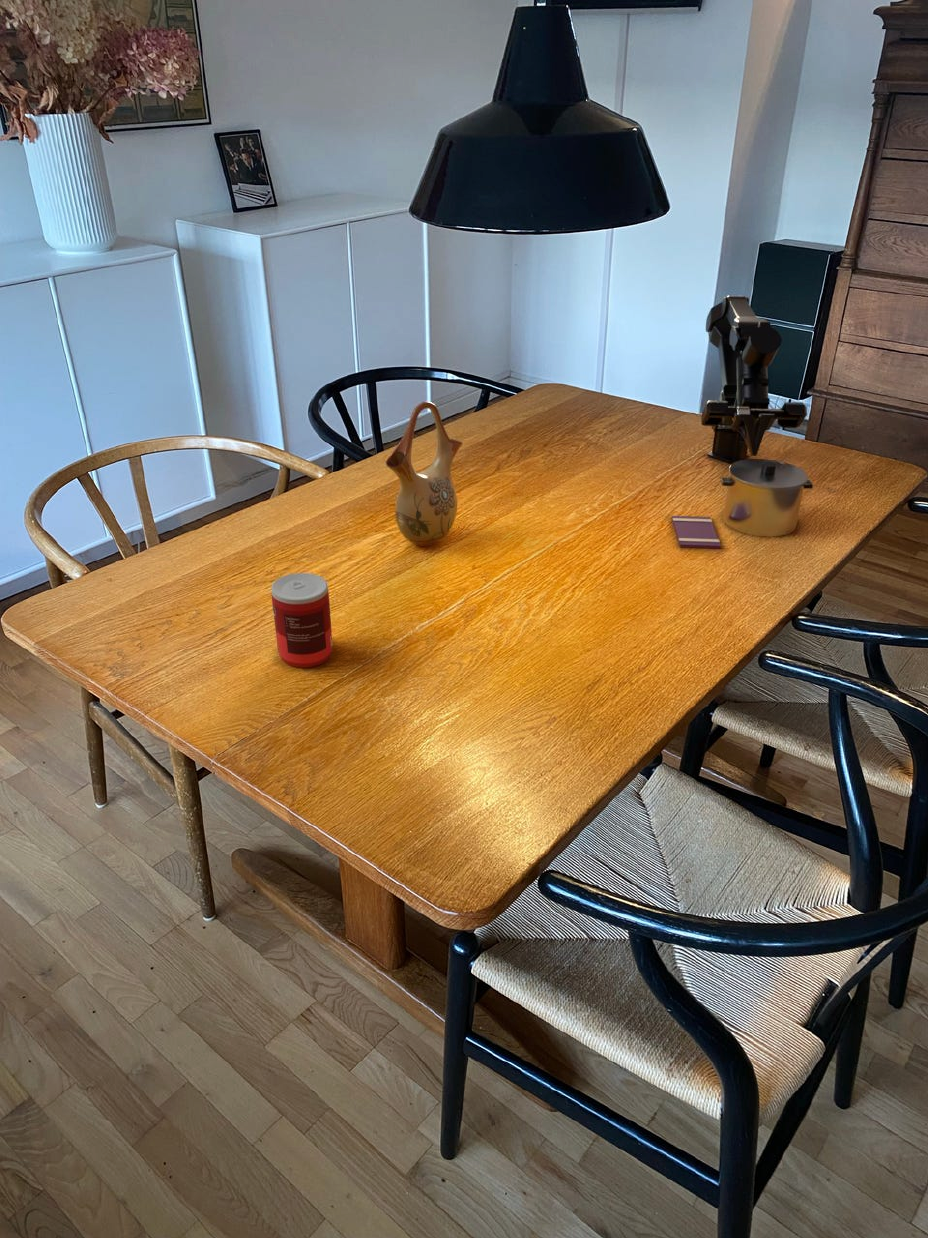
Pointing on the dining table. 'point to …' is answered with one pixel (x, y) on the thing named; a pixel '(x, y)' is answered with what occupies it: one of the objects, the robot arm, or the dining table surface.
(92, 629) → the dining table surface
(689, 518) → the purple striped coaster
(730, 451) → the robot arm
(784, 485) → the steel pot
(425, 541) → the ceramic vessel
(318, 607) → the canned food
